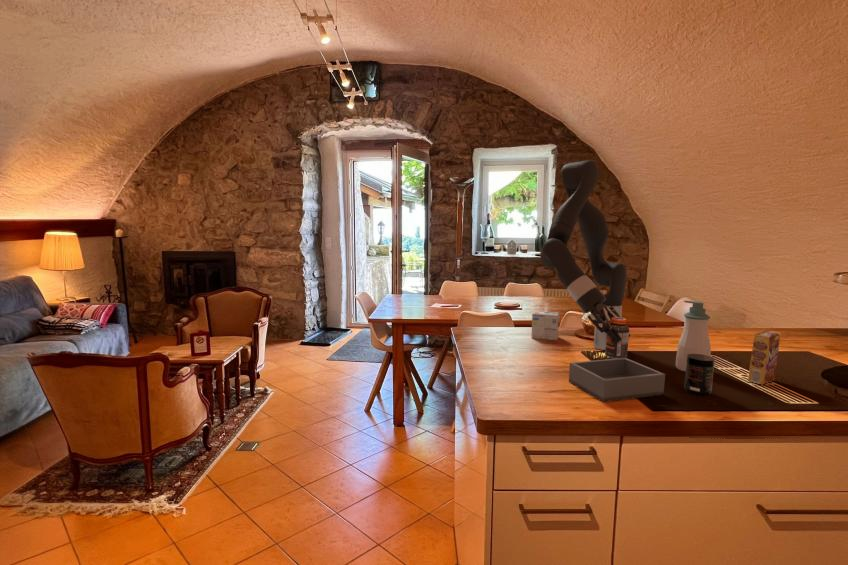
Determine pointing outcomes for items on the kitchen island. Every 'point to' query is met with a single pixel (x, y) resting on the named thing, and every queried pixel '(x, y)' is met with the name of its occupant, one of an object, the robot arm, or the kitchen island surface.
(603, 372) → the tote
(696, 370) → the supplement container
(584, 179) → the robot arm
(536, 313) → the light bulb box
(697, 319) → the soap bottle
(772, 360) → the candy box
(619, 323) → the pill bottle
